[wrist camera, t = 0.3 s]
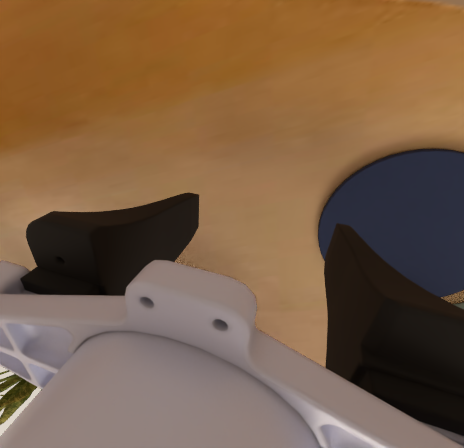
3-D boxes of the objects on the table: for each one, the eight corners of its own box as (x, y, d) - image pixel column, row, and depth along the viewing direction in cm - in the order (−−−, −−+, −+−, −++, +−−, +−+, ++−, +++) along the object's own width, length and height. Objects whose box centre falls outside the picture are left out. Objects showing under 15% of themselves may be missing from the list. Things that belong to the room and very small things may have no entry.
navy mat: (456, 313, 24) (459, 318, 23) (302, 275, 26) (302, 278, 26) (573, 166, 16) (581, 169, 16) (345, 135, 19) (345, 136, 19)
